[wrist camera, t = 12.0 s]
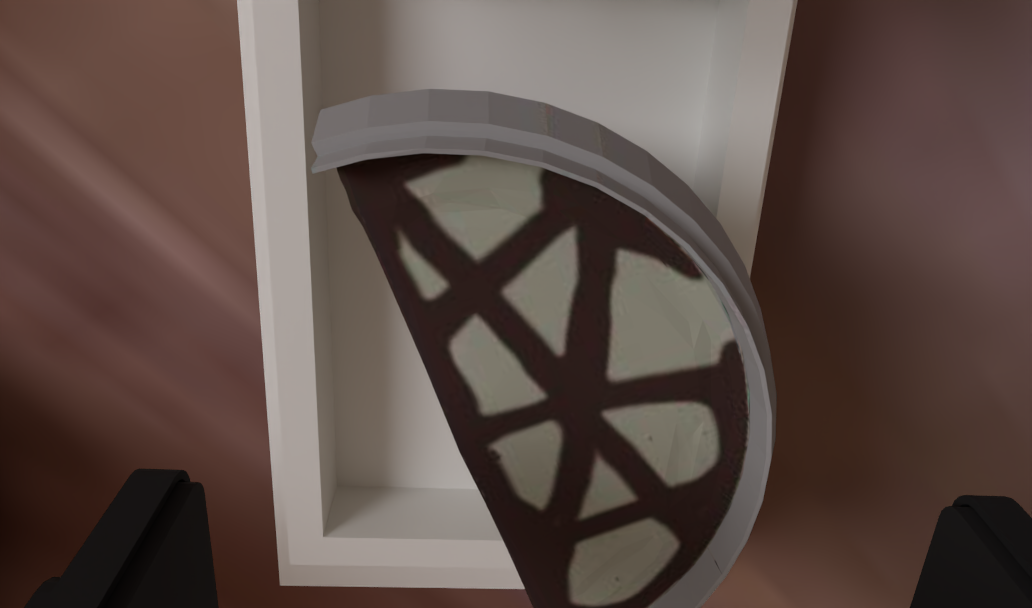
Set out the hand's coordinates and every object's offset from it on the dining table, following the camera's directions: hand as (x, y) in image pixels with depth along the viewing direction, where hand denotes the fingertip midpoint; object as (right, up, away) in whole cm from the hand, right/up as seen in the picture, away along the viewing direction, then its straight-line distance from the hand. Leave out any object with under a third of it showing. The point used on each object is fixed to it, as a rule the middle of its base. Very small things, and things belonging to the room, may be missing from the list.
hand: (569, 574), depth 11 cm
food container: (+1, +6, +13) cm, 14 cm away
